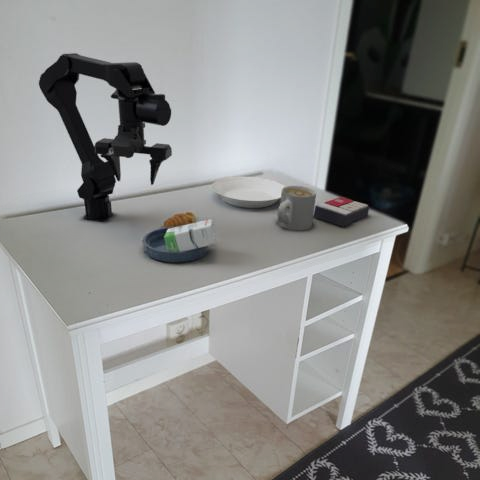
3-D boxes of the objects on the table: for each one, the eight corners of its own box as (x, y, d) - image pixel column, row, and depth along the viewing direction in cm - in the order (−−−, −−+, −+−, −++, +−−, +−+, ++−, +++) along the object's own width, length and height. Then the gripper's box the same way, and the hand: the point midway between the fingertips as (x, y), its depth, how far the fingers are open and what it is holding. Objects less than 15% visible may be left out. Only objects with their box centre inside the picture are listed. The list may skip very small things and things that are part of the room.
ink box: (168, 255, 119) (216, 245, 118) (163, 236, 117) (210, 225, 116) (173, 246, 127) (217, 236, 126) (167, 228, 125) (212, 217, 124)
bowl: (277, 216, 150) (278, 205, 148) (200, 204, 155) (200, 193, 153) (292, 192, 171) (294, 182, 169) (224, 182, 176) (224, 172, 174)
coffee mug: (295, 215, 152) (299, 183, 147) (318, 226, 146) (323, 193, 140) (262, 223, 145) (265, 190, 139) (285, 235, 138) (289, 201, 133)
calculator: (370, 204, 154) (346, 213, 143) (367, 217, 156) (343, 227, 145) (340, 195, 159) (315, 203, 149) (337, 208, 162) (312, 217, 151)
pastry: (171, 234, 134) (170, 221, 132) (158, 227, 138) (157, 214, 136) (199, 228, 139) (199, 215, 137) (186, 220, 144) (186, 208, 142)
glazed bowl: (134, 259, 120) (133, 247, 119) (156, 234, 134) (155, 223, 132) (198, 267, 118) (198, 256, 117) (213, 241, 132) (214, 231, 130)
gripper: (81, 122, 115) (88, 188, 124) (157, 129, 113) (159, 195, 121) (101, 114, 125) (106, 176, 133) (171, 121, 122) (173, 183, 131)
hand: (135, 182), depth 129 cm, fingers open, 9 cm apart
